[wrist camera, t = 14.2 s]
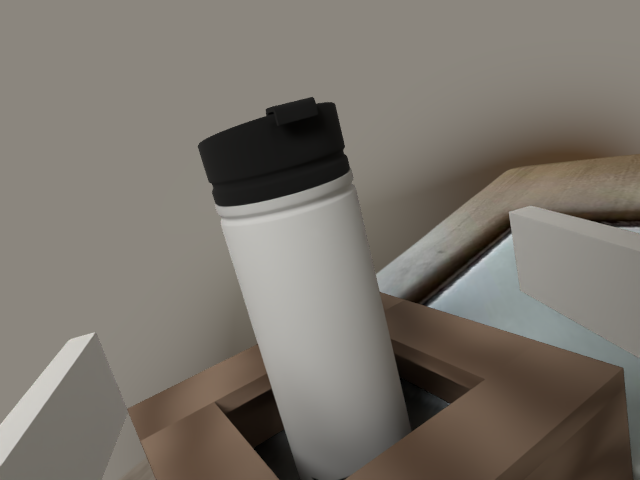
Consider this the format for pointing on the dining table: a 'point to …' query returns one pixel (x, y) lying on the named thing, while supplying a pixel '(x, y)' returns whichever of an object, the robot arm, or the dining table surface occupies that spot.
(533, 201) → the dining table surface
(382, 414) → the travel mug
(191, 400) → the walnut box
